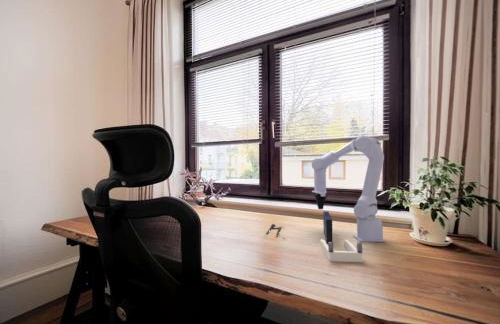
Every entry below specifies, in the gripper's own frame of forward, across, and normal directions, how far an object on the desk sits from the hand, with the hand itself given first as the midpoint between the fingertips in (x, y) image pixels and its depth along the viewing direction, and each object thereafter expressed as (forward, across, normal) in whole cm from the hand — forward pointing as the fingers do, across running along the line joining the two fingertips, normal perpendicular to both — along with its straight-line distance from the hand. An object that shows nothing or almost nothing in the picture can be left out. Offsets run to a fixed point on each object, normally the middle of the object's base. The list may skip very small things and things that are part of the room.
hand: (320, 209), depth 117 cm
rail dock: (+10, +33, 0) cm, 34 cm away
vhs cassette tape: (+10, +15, 0) cm, 18 cm away
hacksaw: (+11, +8, -22) cm, 26 cm away
